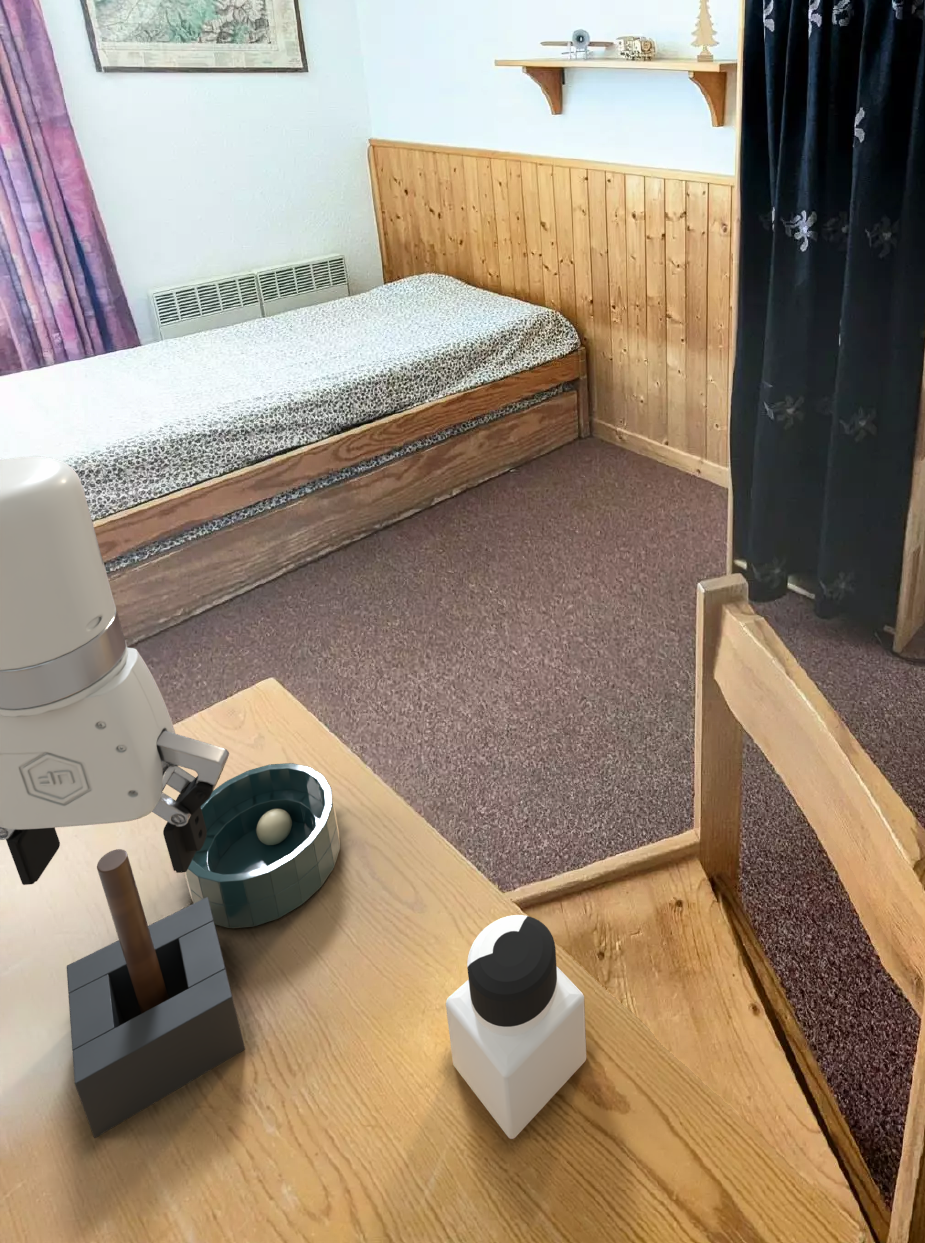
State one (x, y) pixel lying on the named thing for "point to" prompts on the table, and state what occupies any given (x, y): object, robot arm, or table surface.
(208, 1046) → the holder
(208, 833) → the bowl
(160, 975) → the spurtle
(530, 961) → the medicine bottle
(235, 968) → the table surface
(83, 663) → the robot arm
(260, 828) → the beige egg
